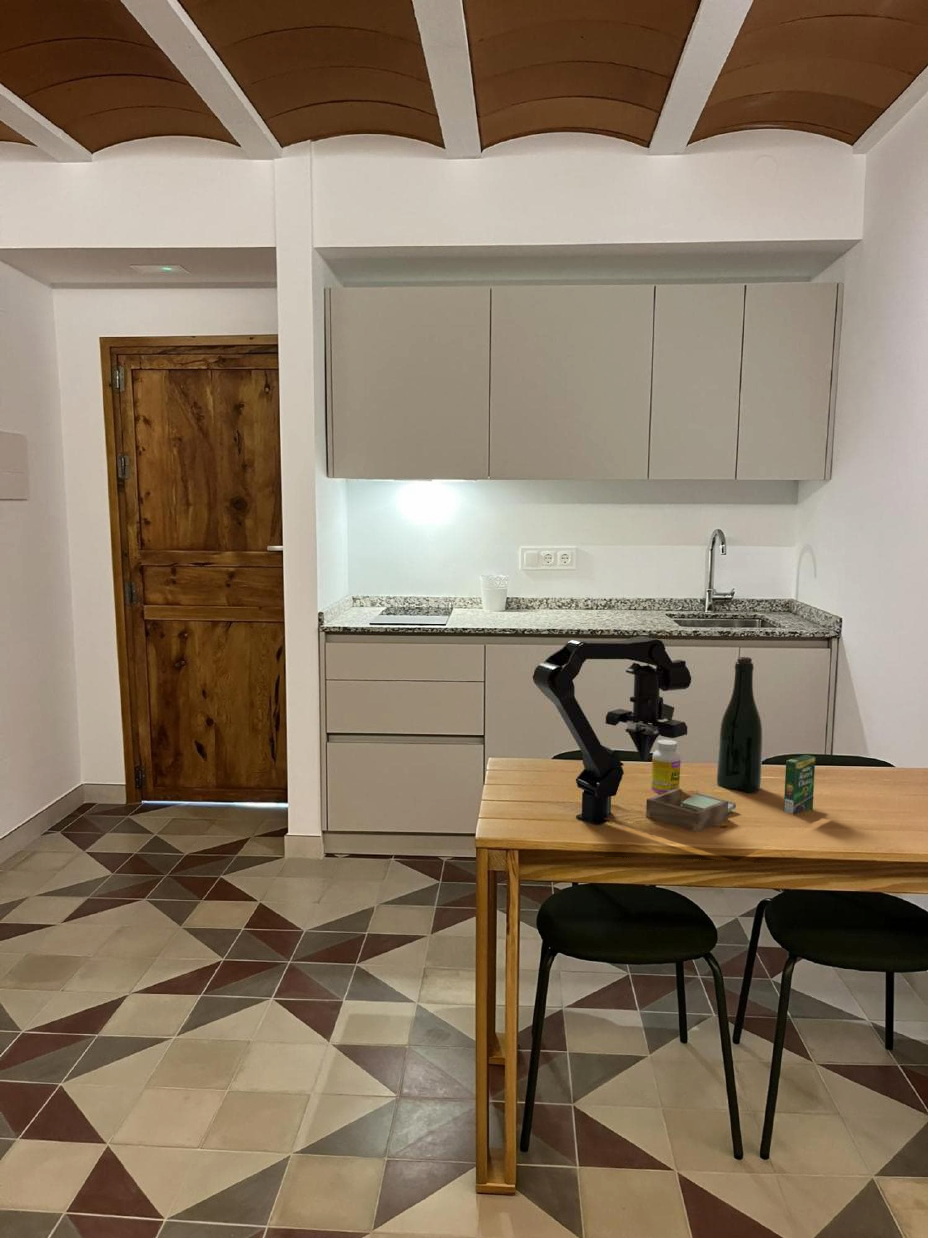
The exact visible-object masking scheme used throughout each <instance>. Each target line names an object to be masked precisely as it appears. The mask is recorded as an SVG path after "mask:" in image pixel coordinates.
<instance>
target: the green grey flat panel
mask: <svg viewBox="0 0 928 1238" xmlns="http://www.w3.org/2000/svg"><path fill="white" fill-rule="evenodd" d="M722 801H726V800H725V799H721V798H718V797H715V796H710V795H707V794H702V793H699V792H695V793H694V794H692V795H690V796H689V797H687V798H686V799H684V800H683V801H681V807H682V808H685V809H689V810H692V811H696V812H697V811H699V810H702V809H704V808H707V807H709V806H712V805H714V804H717V803H719V802H722ZM727 801H728V800H727ZM736 808H737V804H736V802H732V801H728V814H729V813H730V812H732V811H733V810H735V809H736Z"/></svg>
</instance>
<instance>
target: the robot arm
mask: <svg viewBox="0 0 928 1238" xmlns="http://www.w3.org/2000/svg"><path fill="white" fill-rule="evenodd" d="M587 660H630V661H634V662H633V663H632V664H631V666H629V667H628V668H626V670H625V672H626V674H630V675H634V677H633V696H630V697H629V702H631V703H632V704H633V705H632V706H633V707H632V710H628V709H623V708H618V709H613V710H609V711H608V712H607V713H606V715H605V724H606V725H610V726H614V727H615V726H618V724H620V723H624V724H627V728H626V729H625V732H626V733H627V734H628V735H629V737H630V738H631V740H632V743H633V745H634V746H635V748H636V751H637V752H638V755H639V757H640V759H641V761H647V760H648V758H649V756H650V753H651V752H652V751H651V750H652V749H653V747H654V744H655V743H656V740H657V739H658V738H659V736H661V737H663V738H670V739H676V738H680V737H683V736H686V735H688V725H687V723H686V722H685V721H681V720H678V719H677V720H676V719H673V716H674V712H675V707H674V706H671V705H669V704H666V703H664V698H663V696H660V692H661V691H663V692H669V691H682V690H687V689H688V688H689V687H690V686H691V683H692V675H691V673H690V670H689V668H688V667H687V666H686V665H687V662H686V660H683V659H675V660H672V659H671V658H670V656H669V653H668V652H667V651H666V647H665V644H664V642H663V640H661V639H656V638H652V637H648V636H643V635H640V636H634V637H630V638H627V639H625V640H619V641H617V640H616V641H615V640H611V641H610V640H578V639H571V640H569V641H568V642H567V643H566V644H564V645H563V647H562V648H561V649H559V650H557V651H556V652H554V653H552V654H551V655H549V656H548V657H547V658H546V659H545V660H544V661H543V662H541V663H540V664H538V665H537V666H536V667H535V668H534V671H533V675H532V680H533V683H534V684H535V686H536V687H537V688H538V689H539V691H540V692H541V693H542V694H543V695H544V696H545V697H546V698H547V699H548V700H550V701H551V702H552V703H553V704H554V706H555V707H556V709H557V710H558V713H559V714H560V717H561V719H562V720H563V722H564V723H565V725H566V726H567V729H568V730H569V733H570V734H571V736H572V737H573V739H574V741H575V743H576V744H577V746H578V748H579V749H580V751H581V753H582V765H583V770H582V771H581V772H580V774H579V775H578V776H577V777H576V779H575V783H576V786H577V788H578V789H581V790H583V792H581V813H579V814H576V815H575V818H576V819H579V820H583V821H586V822H589V823H592V824H594V825H598V826H599V825H601V824H605V823H606V822H610V820H609V819H607V818H608V817H609V816H610V814H611V813H612V810H611V809H612V797H616V795H617V793H618V790H619V787H620V784H621V781H622V779H623V776H624V773H625V772H624V768H623V766H624V765H625V764H624V763H623V762H622V761H621V759H620V758H619V755H618V753H617V751H616V750H614V749H612V748H610V747H608V746H606V745H603V744H601V741H600V739H599V738H598V736H597V735H596V733H595V731H594V728H592V725H591V724H590V721H589V720H588V718H587V717H586V715H585V713H584V710H582V707H581V705H580V704H579V702H578V700H577V698H576V695H575V691H576V689H575V684H574V683H575V682H574V680H575V678H576V677H577V676H578V675H580V674H579V673H580V671H581V668H582V667H583V664H584V663H585V662H586V661H587ZM636 662H639V663H636ZM640 663H644V664H646V665H641V664H640ZM653 666H654V667H655V668H654V667H653ZM660 690H661V691H660ZM663 720H665V721H663Z"/></svg>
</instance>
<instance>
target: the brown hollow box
mask: <svg viewBox="0 0 928 1238" xmlns="http://www.w3.org/2000/svg"><path fill="white" fill-rule="evenodd" d="M645 810H646V811H645V817H646V818H648V819H651V820H655V821H658V822H662V823H665V824H669V825H671V826H675V827H678V828H681V829H684V830H687V831H692V832H694V833H699V832H702V831H704V830H706V829H708V828H712V827H714V826H715V825H717V824H720V823H722V822H725V821H726V820H728V815H729V813H728V800H725V801H722V802H719V803H717V804H714V805H712V806H709V807H707V808H704V809H702V810H699V811H697V810H693V809H690V808H686V807H683V806H682V788H680V787H679V788H676V789H674V790H671V791H668V792H665V793H660V794H658V795H655V796H652V797H648V798H646V806H645Z"/></svg>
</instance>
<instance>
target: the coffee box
mask: <svg viewBox="0 0 928 1238" xmlns="http://www.w3.org/2000/svg"><path fill="white" fill-rule="evenodd" d="M815 769H816V757H815V756H812V755H809V754H803V755H800V756H798V757H794V758H791V759H788V760H786V761H785V774H784V775H785V776H784V796H783V797H784V799H783V812H784V813H787V814H791V815H796V814H799V813H802V812H807V811H808V810H810V811H814V789H815V772H816V771H815Z"/></svg>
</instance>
